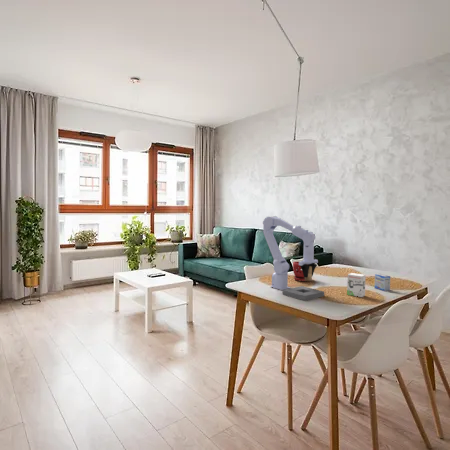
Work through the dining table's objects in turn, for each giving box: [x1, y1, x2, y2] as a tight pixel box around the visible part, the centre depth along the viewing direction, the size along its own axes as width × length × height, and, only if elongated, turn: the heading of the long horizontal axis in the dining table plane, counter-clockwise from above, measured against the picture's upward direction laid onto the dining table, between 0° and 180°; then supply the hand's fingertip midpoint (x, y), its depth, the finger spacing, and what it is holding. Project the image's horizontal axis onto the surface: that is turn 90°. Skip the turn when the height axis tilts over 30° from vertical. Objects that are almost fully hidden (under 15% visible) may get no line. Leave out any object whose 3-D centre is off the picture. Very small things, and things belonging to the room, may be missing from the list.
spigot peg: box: [304, 266, 313, 282], centre depth 199 cm, size 4×4×8 cm
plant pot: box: [292, 261, 308, 282], centre depth 231 cm, size 13×13×12 cm
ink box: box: [346, 272, 366, 298], centre depth 192 cm, size 9×5×12 cm, turn 48°
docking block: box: [282, 285, 325, 302], centre depth 192 cm, size 16×16×2 cm
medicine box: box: [374, 273, 391, 292], centre depth 206 cm, size 8×4×9 cm, turn 21°
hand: (308, 276), depth 199 cm, fingers closed on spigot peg, 4 cm apart
